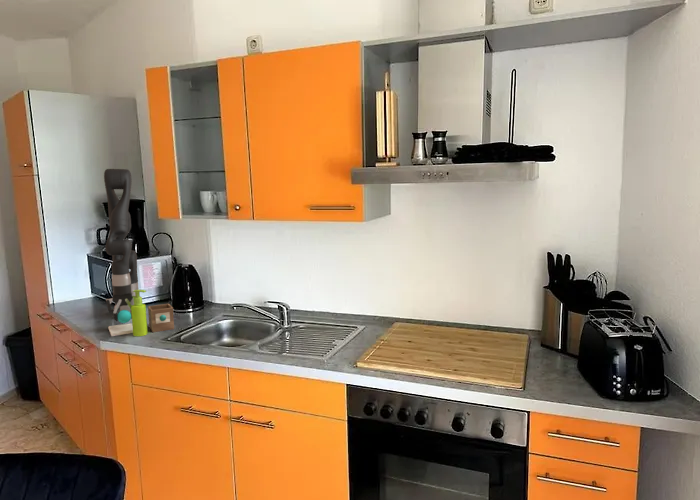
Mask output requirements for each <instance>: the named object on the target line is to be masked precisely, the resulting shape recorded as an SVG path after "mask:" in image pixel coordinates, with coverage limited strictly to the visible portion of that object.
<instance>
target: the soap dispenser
mask: <svg viewBox="0 0 700 500" xmlns="http://www.w3.org/2000/svg"><path fill="white" fill-rule="evenodd" d="M133 292H135V295H136V297H134V305H132V306H131V313H132V319H131V323H132V326H133V333H132V336H133V337H143V336H147V335H148V320H147V319H148V318H147V308H146V307H147V306H146V304H145V303H143V297H142V296H141V295H140V293H146V292H147V290H145V289H139V290H134V291H133Z"/></svg>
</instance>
